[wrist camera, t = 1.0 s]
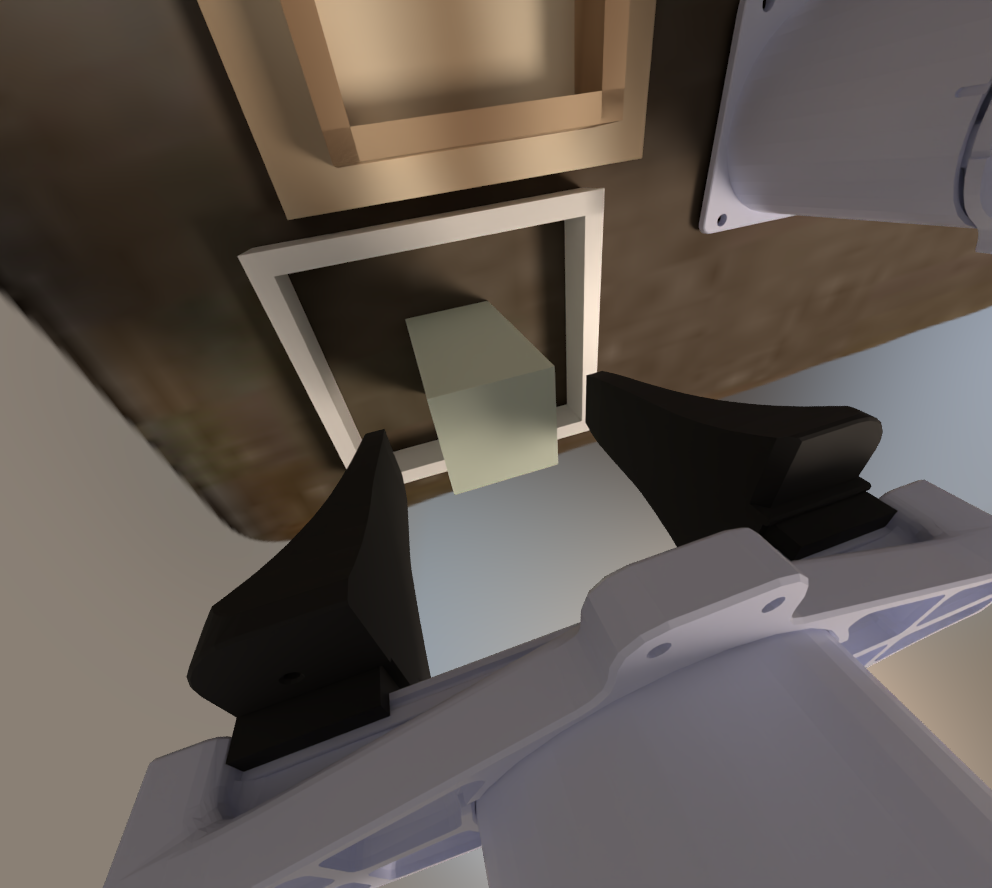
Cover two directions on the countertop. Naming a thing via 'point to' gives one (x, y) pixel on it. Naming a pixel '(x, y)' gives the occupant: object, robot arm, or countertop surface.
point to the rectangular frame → (281, 259)
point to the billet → (485, 395)
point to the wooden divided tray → (432, 91)
